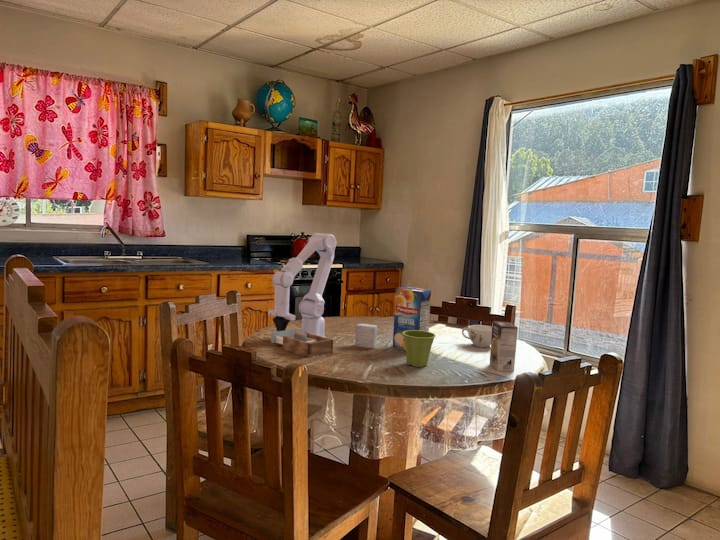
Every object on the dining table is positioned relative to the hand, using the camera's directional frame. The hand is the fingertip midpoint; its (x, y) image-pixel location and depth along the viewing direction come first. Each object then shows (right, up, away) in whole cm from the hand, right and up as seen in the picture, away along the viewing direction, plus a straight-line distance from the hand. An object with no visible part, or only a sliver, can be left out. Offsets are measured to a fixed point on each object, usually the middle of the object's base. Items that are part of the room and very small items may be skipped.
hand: (280, 335), depth 218 cm
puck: (+8, -2, -7) cm, 11 cm away
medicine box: (+34, -5, +1) cm, 34 cm away
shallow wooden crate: (+11, -4, -9) cm, 15 cm away
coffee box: (+82, -9, -21) cm, 85 cm away
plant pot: (+52, -8, -22) cm, 57 cm away
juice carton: (+51, -5, +1) cm, 52 cm away
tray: (+6, -2, -6) cm, 9 cm away
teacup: (+81, -6, +12) cm, 82 cm away
